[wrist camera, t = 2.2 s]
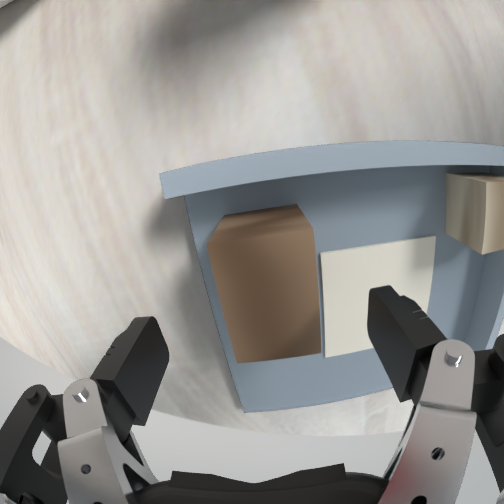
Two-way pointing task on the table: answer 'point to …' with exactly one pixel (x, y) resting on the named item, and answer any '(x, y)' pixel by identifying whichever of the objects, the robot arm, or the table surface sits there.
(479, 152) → the arena
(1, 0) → the bowl
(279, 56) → the table surface
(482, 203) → the ash block
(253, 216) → the walnut block
